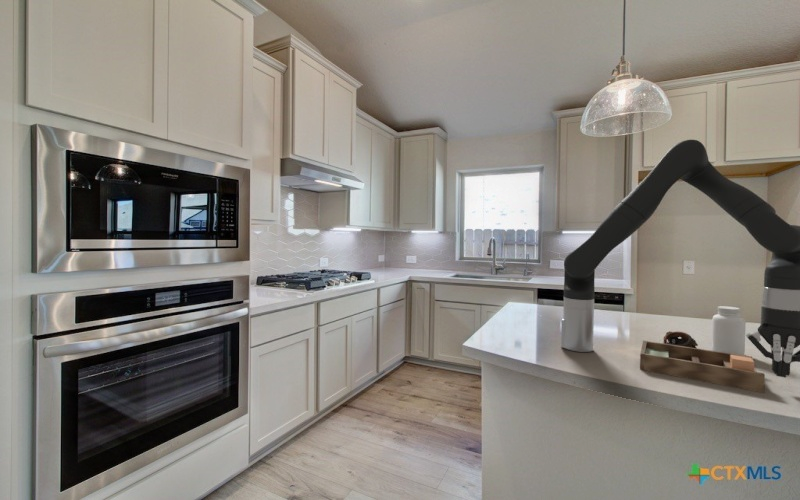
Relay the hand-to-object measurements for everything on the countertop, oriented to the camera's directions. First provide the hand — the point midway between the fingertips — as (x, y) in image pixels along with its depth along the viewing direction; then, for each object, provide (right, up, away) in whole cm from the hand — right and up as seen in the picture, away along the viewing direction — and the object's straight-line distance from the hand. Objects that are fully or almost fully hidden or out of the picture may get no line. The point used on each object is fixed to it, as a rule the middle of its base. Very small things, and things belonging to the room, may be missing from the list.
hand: (780, 375), depth 87 cm
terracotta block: (-6, -1, +4) cm, 7 cm away
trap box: (-10, -3, +12) cm, 16 cm away
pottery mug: (-3, -3, +27) cm, 28 cm away
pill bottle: (+13, -3, +28) cm, 30 cm away
